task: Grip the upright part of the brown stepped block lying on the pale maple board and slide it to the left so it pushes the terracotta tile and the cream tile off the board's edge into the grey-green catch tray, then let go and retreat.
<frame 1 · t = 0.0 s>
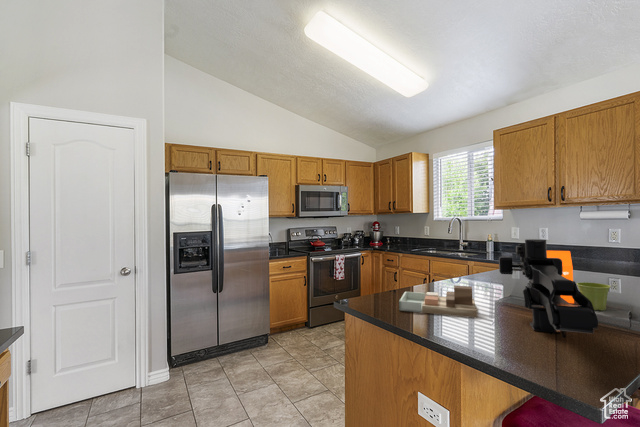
hand: (524, 262, 117), 17 cm above the counter, tool horizontal, fingers open, 9 cm apart
terracotta tile: (431, 303, 115), point 2 cm above the counter, touching maple board
brown stepped block: (463, 303, 114), point 2 cm above the counter, touching maple board
plant pot: (594, 308, 112), on the counter
orange juice: (558, 300, 124), on the counter
maple board: (449, 308, 116), on the counter
catch tray: (412, 305, 121), on the counter
cream tile: (432, 298, 121), point 2 cm above the counter, touching maple board
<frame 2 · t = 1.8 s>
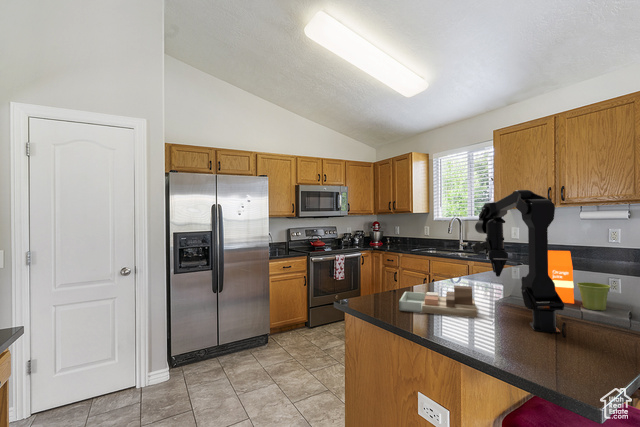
hand: (496, 274, 119), 12 cm above the counter, tool pointing down, fingers open, 9 cm apart
nothing on the counter moved.
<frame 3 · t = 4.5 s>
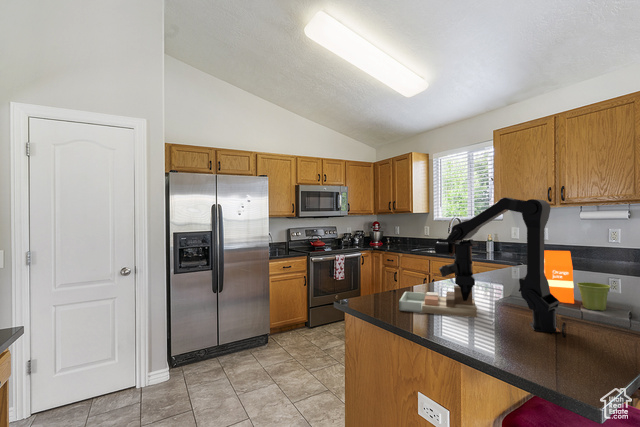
hand: (464, 299, 114), 4 cm above the counter, tool pointing down, fingers closed on brown stepped block, 4 cm apart
brown stepped block: (463, 303, 114), point 2 cm above the counter, touching gripper, maple board
everything else where it was.
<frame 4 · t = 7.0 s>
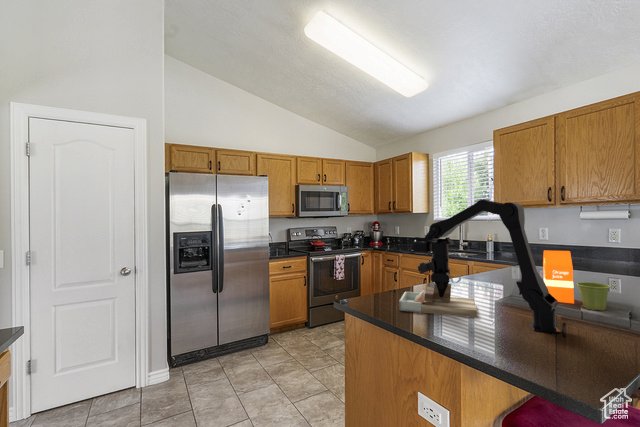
hand: (441, 295, 117), 5 cm above the counter, tool pointing down, fingers closed on brown stepped block, 4 cm apart
terracotta tile: (421, 303, 116), point 2 cm above the counter, tilted 47°, touching catch tray, brown stepped block
brown stepped block: (441, 299, 117), point 3 cm above the counter, tilted 6°, touching cream tile, gripper, terracotta tile
cream tile: (422, 298, 123), point 2 cm above the counter, tilted 45°, touching catch tray, brown stepped block
everything else where it was.
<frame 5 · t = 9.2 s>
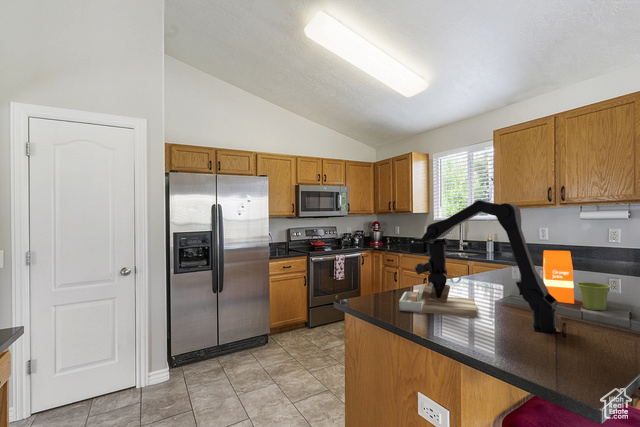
hand: (438, 296, 117), 4 cm above the counter, tool pointing down, fingers closed on brown stepped block, 4 cm apart
terracotta tile: (416, 301, 117), point 3 cm above the counter, tilted 90°, touching catch tray
brown stepped block: (438, 299, 117), point 3 cm above the counter, tilted 15°, touching gripper, maple board
cream tile: (418, 296, 124), point 3 cm above the counter, tilted 90°, touching catch tray
everything else where it was.
when the fingers open (4 cm above the counter, at t = 9.7 s): brown stepped block stays where it is, resting on maple board.
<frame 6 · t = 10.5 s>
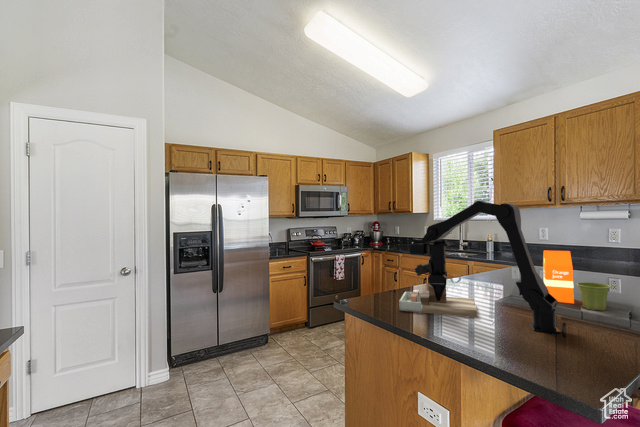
hand: (438, 297, 117), 4 cm above the counter, tool pointing down, fingers open, 9 cm apart
brown stepped block: (437, 301, 117), point 2 cm above the counter, touching maple board
everything else where it was.
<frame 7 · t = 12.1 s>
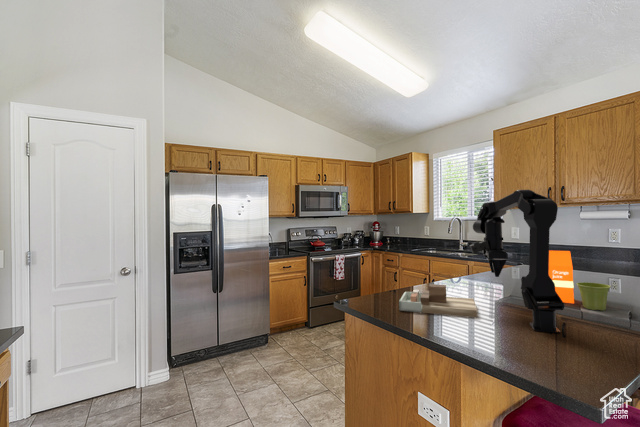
hand: (495, 274, 118), 12 cm above the counter, tool pointing down, fingers open, 9 cm apart
nothing on the counter moved.
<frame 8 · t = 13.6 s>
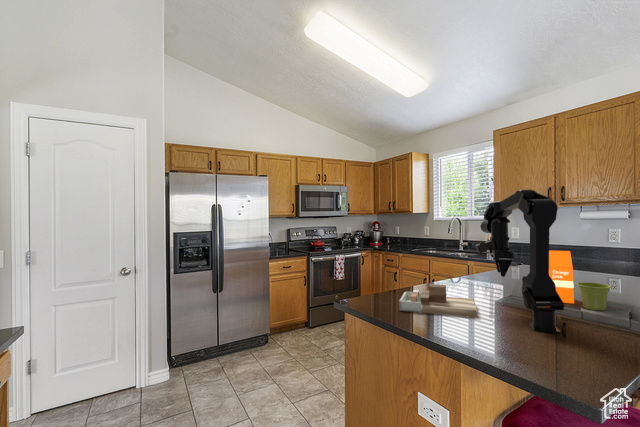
hand: (501, 274, 118), 12 cm above the counter, tool pointing down, fingers open, 9 cm apart
nothing on the counter moved.
at the end: terracotta tile inside the target area (4.6 cm from its centre), point 2.8 cm above the counter; cream tile inside the target area (4.5 cm from its centre), point 2.8 cm above the counter; the gripper is holding nothing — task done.
